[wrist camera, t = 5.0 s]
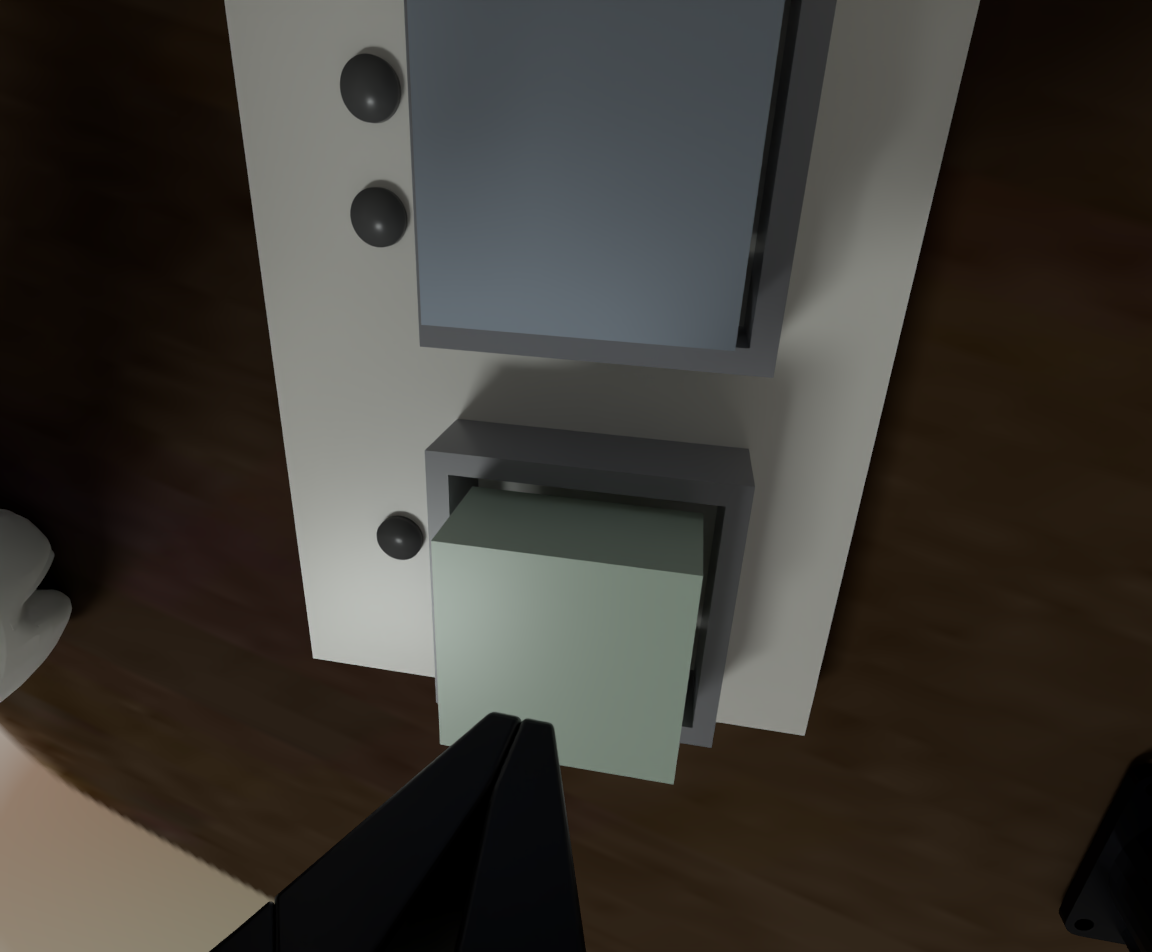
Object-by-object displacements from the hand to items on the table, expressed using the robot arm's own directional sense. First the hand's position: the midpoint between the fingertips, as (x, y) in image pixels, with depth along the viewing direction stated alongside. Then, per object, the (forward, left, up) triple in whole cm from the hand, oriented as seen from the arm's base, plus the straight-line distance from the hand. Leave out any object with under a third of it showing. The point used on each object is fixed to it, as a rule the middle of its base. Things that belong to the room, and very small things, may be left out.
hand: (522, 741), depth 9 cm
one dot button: (-2, 0, -6) cm, 7 cm away
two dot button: (+7, 0, -7) cm, 9 cm away
